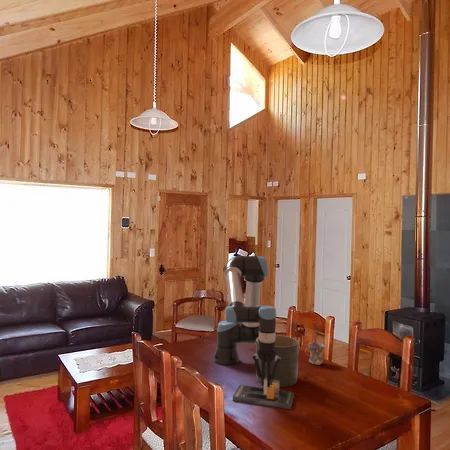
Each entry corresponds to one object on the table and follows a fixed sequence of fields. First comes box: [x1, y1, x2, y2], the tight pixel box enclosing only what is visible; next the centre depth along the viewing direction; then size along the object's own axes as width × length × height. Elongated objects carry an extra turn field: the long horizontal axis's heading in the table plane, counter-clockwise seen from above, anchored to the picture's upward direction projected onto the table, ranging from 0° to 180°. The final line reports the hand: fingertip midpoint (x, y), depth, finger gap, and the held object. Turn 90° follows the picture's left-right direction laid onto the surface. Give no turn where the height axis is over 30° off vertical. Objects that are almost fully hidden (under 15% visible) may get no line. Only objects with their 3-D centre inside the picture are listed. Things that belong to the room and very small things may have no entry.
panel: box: [232, 380, 295, 410], centre depth 182 cm, size 26×14×7 cm, turn 74°
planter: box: [255, 334, 300, 388], centre depth 206 cm, size 22×22×20 cm
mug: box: [304, 342, 325, 366], centre depth 232 cm, size 12×9×11 cm
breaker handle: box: [267, 385, 275, 399], centre depth 178 cm, size 3×3×5 cm
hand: (265, 393), depth 178 cm, fingers closed
